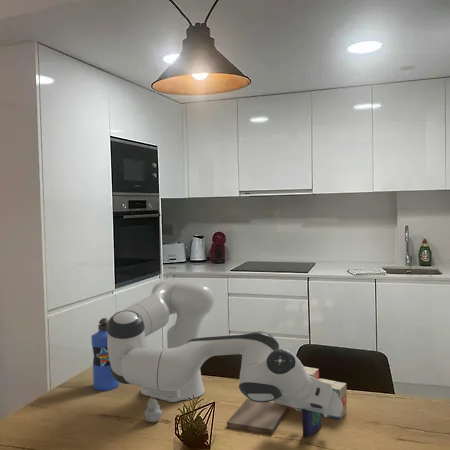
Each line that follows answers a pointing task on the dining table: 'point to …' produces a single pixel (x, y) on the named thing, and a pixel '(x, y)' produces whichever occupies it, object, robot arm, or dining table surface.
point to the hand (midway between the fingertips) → (312, 411)
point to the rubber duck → (153, 411)
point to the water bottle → (102, 360)
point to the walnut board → (258, 416)
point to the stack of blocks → (336, 387)
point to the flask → (310, 422)
